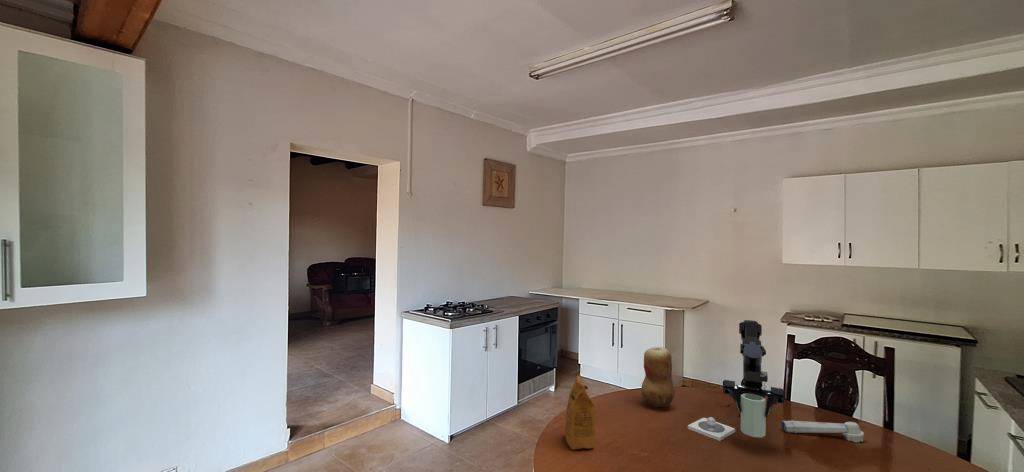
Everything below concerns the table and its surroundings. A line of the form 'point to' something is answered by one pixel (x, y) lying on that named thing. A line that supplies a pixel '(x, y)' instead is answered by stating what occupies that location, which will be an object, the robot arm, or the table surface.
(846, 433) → the toothbrush head
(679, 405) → the table surface
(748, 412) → the sleeve
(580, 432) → the coffee package
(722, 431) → the post board
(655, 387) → the butternut squash
